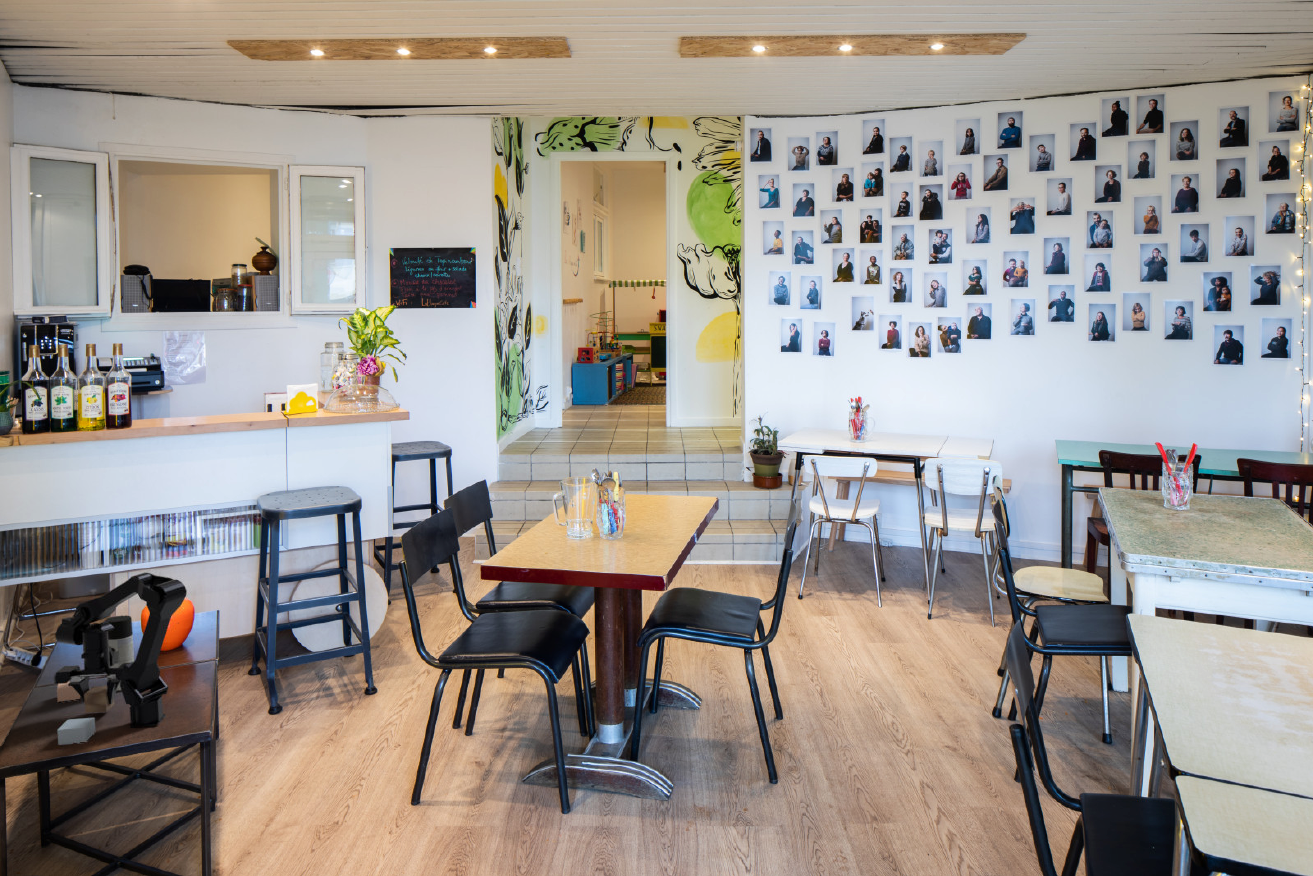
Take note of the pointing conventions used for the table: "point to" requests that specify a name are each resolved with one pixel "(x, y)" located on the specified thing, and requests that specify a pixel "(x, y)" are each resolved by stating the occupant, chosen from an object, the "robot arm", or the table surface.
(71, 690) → the terracotta block
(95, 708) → the walnut cube
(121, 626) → the spray can
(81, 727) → the slate block
